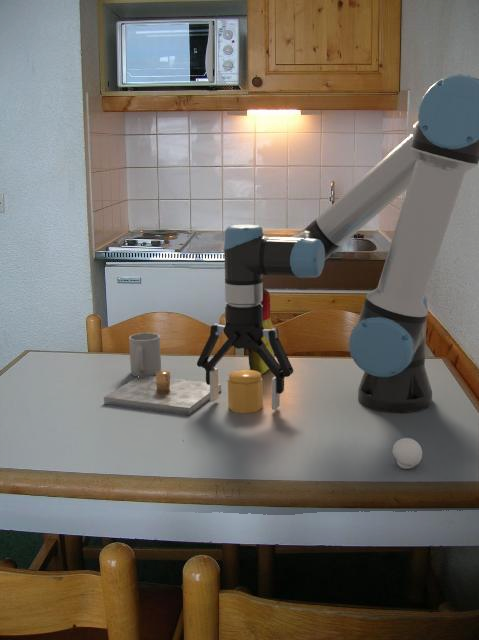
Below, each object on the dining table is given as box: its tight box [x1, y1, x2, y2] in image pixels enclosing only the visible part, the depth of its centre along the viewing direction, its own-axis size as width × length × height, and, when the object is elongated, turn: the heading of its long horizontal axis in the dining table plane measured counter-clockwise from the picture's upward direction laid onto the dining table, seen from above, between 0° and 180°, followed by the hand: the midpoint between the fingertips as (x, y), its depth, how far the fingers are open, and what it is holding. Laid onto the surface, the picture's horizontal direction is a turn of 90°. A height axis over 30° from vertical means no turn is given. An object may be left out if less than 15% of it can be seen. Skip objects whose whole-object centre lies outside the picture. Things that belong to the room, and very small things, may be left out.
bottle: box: [247, 288, 275, 375], centre depth 175 cm, size 12×6×20 cm, turn 167°
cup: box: [128, 332, 162, 377], centre depth 175 cm, size 7×10×9 cm
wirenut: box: [227, 369, 264, 414], centre depth 152 cm, size 7×7×7 cm
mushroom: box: [391, 437, 423, 470], centre depth 123 cm, size 5×5×5 cm
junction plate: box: [103, 370, 222, 416], centre depth 159 cm, size 20×16×6 cm
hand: (244, 403), depth 153 cm, fingers open, 13 cm apart
